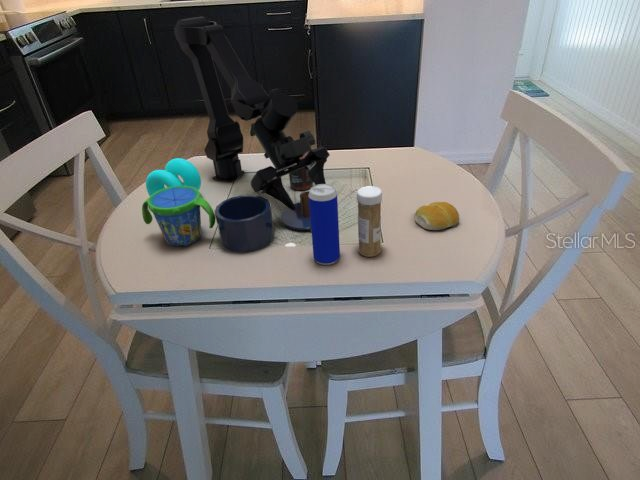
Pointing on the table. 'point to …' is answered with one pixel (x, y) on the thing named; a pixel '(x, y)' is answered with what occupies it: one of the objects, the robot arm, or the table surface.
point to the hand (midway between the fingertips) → (310, 201)
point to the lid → (298, 214)
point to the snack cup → (178, 213)
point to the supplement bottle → (300, 178)
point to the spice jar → (369, 220)
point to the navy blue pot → (245, 223)
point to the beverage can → (324, 223)
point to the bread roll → (437, 216)
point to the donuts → (173, 176)
